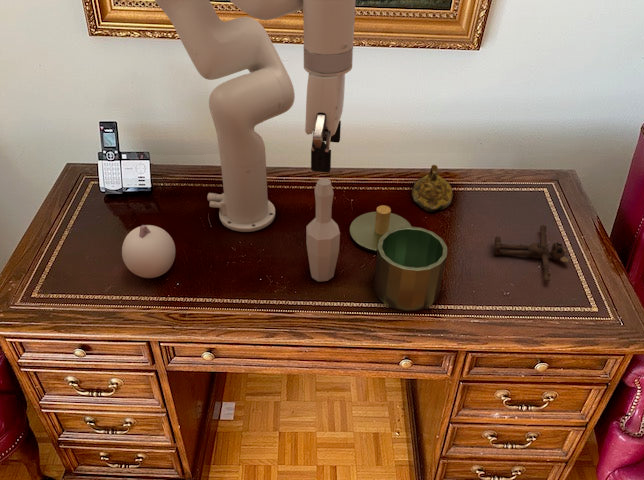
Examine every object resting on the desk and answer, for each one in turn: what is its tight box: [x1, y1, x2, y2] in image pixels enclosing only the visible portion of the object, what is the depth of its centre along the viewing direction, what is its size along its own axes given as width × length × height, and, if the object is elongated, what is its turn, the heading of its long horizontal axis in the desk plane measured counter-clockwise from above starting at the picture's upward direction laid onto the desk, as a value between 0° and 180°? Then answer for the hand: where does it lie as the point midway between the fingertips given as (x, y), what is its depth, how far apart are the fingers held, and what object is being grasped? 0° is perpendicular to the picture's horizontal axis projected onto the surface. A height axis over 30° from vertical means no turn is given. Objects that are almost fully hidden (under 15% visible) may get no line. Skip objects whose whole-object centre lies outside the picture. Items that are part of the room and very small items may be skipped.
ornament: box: [121, 224, 176, 279], centre depth 125 cm, size 10×10×12 cm
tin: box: [373, 226, 448, 312], centre depth 120 cm, size 13×13×10 cm
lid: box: [349, 204, 413, 253], centre depth 134 cm, size 14×14×7 cm
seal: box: [411, 164, 454, 213], centre depth 145 cm, size 9×5×15 cm
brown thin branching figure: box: [493, 224, 570, 283], centre depth 129 cm, size 18×4×14 cm
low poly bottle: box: [305, 177, 341, 282], centre depth 120 cm, size 6×6×22 cm
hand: (325, 155), depth 108 cm, fingers open, 9 cm apart
